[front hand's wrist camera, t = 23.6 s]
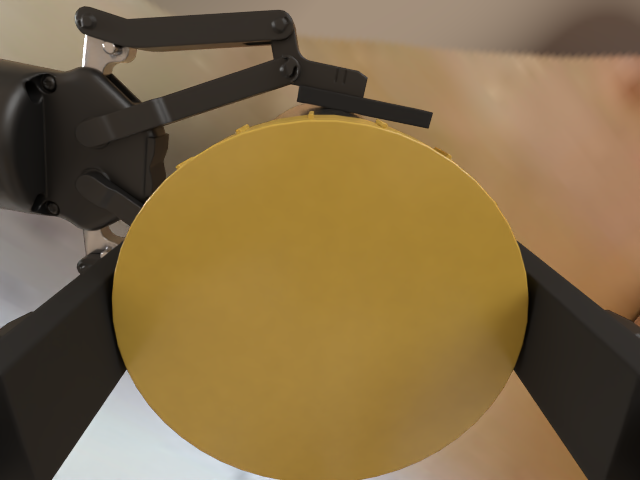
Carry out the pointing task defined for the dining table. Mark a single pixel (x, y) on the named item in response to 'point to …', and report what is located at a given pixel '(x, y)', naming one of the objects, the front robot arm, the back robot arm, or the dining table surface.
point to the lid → (320, 299)
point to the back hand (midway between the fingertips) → (398, 210)
